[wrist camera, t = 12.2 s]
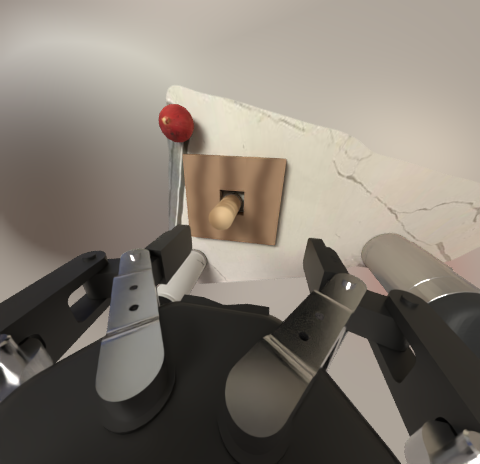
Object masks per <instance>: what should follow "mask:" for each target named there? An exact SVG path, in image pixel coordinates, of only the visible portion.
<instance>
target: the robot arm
mask: <svg viewBox="0 0 480 464" xmlns="http://www.w3.org/2000/svg"><path fill="white" fill-rule="evenodd" d="M191 251H192V238H191V228H190V226H189V225H180V224H178V225H177V226H176V227H174V228H173V229H172V230H170V231H167V232H165V233H163V234H162V235H161V236H159V238H157V239H156V240H155V241H153V242H152V243H151V244H149V245H148V246H147V247H146V248H145V249H133V250H130V251H127V252H125V253H124V254H122V256H121V257H120V258H117V259H107V256H106V253H105V252H103V251H91V252H87V253H84V254H81V255H79V256H77V257H76V258H74V259H72V260H71V261H69V262H68V263H66V264H64V265H63V266H61V267H59V268H58V269H56V270H54V271H53V272H51V273H49V274H48V275H46V276H44V277H43V278H41V279H40V280H38V281H36V282H35V283H33V284H31V285H30V286H28V287H26V288H25V289H23V290H21V291H20V292H18V293H16V294H15V295H13V296H12V297H10V298H8V299H7V300H5V301H3V302H2V303H0V464H401V463H400V462H399V460H398V459H397V457H396V456H395V455H394V454H393V452H392V451H391V450H390V448H389V447H388V446H387V445H386V444H385V442H384V441H383V440H382V439H381V437H380V436H379V435H378V434H377V433H376V431H375V430H374V429H373V428H372V426H371V425H370V424H369V423H368V422H367V420H366V419H365V418H364V417H363V416H362V415H361V413H360V412H359V411H358V409H357V408H356V407H355V406H354V405H353V403H352V402H351V401H350V400H349V398H348V397H347V396H346V395H345V394H344V392H343V391H342V390H341V389H340V387H339V386H338V385H337V384H336V383H335V381H333V379H332V378H331V377H330V375H329V374H328V373H327V371H328V369H329V367H330V365H331V362H332V361H333V359H334V357H335V355H336V353H337V351H338V349H339V348H340V346H341V344H342V342H343V340H344V338H345V336H346V335H347V333H348V331H350V332H352V333H355V334H357V335H359V336H362V337H364V338H367V339H368V341H369V343H370V346H371V348H372V350H373V352H374V355H375V357H376V359H377V362H378V364H379V366H380V369H381V371H382V373H383V375H384V378H385V380H386V383H387V385H388V387H389V389H390V392H391V394H392V396H393V399H394V401H395V403H396V406H397V408H398V410H399V412H400V415H401V417H402V419H403V422H404V424H405V426H406V428H407V431H408V433H409V435H410V438H409V439H408V440H407V441H406V443H405V457H406V460H407V464H480V289H479V288H477V287H476V286H474V285H473V284H471V283H470V282H468V281H467V280H465V279H464V278H462V277H461V276H459V275H458V274H456V273H455V272H454V271H453V269H452V268H451V267H449V266H448V265H446V264H445V263H443V262H442V261H440V260H439V259H437V258H436V257H434V256H433V255H432V254H430V253H429V252H427V251H426V250H424V249H423V248H421V247H420V246H418V245H417V244H415V243H414V242H410V241H409V240H407V239H406V238H404V237H403V236H401V235H398V234H392V233H390V234H382V235H379V236H377V237H374V238H373V239H371V240H370V241H369V242H367V244H366V245H365V246H364V248H363V250H362V253H361V256H362V260H363V262H364V263H365V265H366V266H367V267H368V268H369V270H370V271H371V272H372V273H373V275H374V276H375V277H376V279H377V280H378V281H379V282H380V284H381V285H382V286H383V287H384V289H385V290H386V291H387V292H388V296H384V295H381V294H378V293H374V292H372V291H369V290H367V287H366V284H365V283H364V282H363V281H362V280H360V279H359V278H357V277H355V276H353V275H350V274H349V273H348V271H347V269H346V268H345V266H344V265H343V263H342V261H341V260H340V258H339V256H338V255H337V253H336V252H335V251H334V250H333V249H331V248H330V247H326V246H325V244H324V242H323V240H322V239H316V238H309V239H308V242H307V246H306V250H305V255H304V260H303V268H304V272H305V276H306V279H307V283H308V287H309V290H310V295H309V296H308V297H307V298H306V299H305V300H304V301H303V302H302V303H301V304H300V305H299V306H298V307H297V308H296V309H295V310H294V311H293V312H292V313H291V314H290V315H289V316H288V317H287V318H286V319H285V320H284V321H281V320H279V319H278V318H276V317H274V316H272V315H269V307H265V306H258V305H251V304H237V305H222V304H220V303H217V302H215V301H212V300H210V299H207V298H204V297H198V296H192V295H185V294H184V296H183V298H182V299H181V301H175V302H170V303H167V304H164V305H161V306H160V303H159V298H158V292H157V287H156V286H157V285H158V284H164V285H167V284H168V282H169V281H170V280H171V278H172V277H173V276H174V274H175V273H176V272H177V271H178V269H179V268H180V267H181V265H182V264H183V263H184V261H185V260H186V259H187V257H188V256H189V255H190V253H191ZM81 285H83V287H84V289H85V291H86V294H85V295H84V296H83V297H82V298H80V299H79V300H78V301H77V302H76V303H75V304H73V305H72V306H71V307H69V305H68V298H69V296H70V295H71V294H72V293H73V292H74V291H75V290H76V289H78V288H79V287H80V286H81ZM108 306H110V311H109V319H108V326H107V333H106V336H104V337H102V338H101V339H99V340H97V341H95V342H94V343H91V344H90V345H88V346H86V347H84V348H82V349H81V350H79V351H77V352H75V353H74V354H72V355H70V356H68V357H67V358H64V359H63V360H61V361H59V362H57V361H58V360H59V359H60V358H61V357H62V355H63V354H64V353H65V352H66V351H67V350H68V349H69V348H70V347H71V346H72V345H73V344H74V343H75V342H76V341H77V340H78V338H79V337H80V336H81V335H82V334H83V333H84V332H85V331H86V330H87V329H88V328H89V327H90V326H91V325H92V324H93V323H94V321H95V320H96V319H97V318H98V317H99V316H100V315H101V314H102V313H103V312H104V311H105V310H106V309H107V307H108ZM409 345H411V347H412V349H413V350H414V353H415V355H414V353H413V352H412V350H411V349H410V347H409ZM415 356H416V357H415ZM56 362H57V363H56Z"/></svg>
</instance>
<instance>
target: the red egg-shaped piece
mask: <svg viewBox="0 0 480 464" xmlns="http://www.w3.org/2000/svg"><path fill="white" fill-rule="evenodd" d="M159 126H160V128H161V130H162V132H163V133H164V135H165V136H166V137H167V138H168V139H170V140H172V141H174V142H184V141H186V140H188V139H189V138H190V137H191V135H192V133H193V129H194V123H193V119H192V117H191V114H190V113H189V112H188V111H187V110H186V108H184V107H182V106H180V105H178V104H169V105H168V106H166V107H164V108H163V109H162V111H161V112H160V114H159Z"/></svg>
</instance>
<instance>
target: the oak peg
mask: <svg viewBox="0 0 480 464" xmlns="http://www.w3.org/2000/svg"><path fill="white" fill-rule="evenodd" d="M241 205H242V199H241V197H240V196H239V195H238V194H237V193H228V194H227V195H225V196H224V197H223V199H222V200H221V201H220V202H219V203H218V204H217V205H216V206H215V207H214V209H213V210H212V211H211V212H210V214H209V222H210V224H211V225H212V226H213V227H214V228H215V229H217V230H226V229H228V228H229V227H230V226H231V224H232V223H233V221H234V219H235V217H236V215H237V213H238V211H239V210H240V208H241Z"/></svg>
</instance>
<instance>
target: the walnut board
mask: <svg viewBox="0 0 480 464" xmlns="http://www.w3.org/2000/svg"><path fill="white" fill-rule="evenodd" d="M183 165H184V175H185V186H186V197H187V208H188V219H189V226H190V228H191V236H193V237H202V238H211V239H220V240H230V241H239V242H248V243H257V244H266V245H275V239H276V232H277V225H278V218H279V210H280V203H281V196H282V189H283V182H284V174H285V167H286V159H281V158H261V157H241V156H220V155H200V154H183ZM223 190H230V191H243V192H245V194H244V212H240V211H238V213H237V215H236V217H235V219H234V221H233V223H232V224H231V226H230V227H229V228H228V229H226V230H217V229H215V228H214V227H213V226H212V225H211V224H210V222H209V214H210V212H211V211H212V210H213V209H214V207H215V206H216V205H217V204H218V203H219V202H220V201H221V200H222V199H223Z"/></svg>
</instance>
